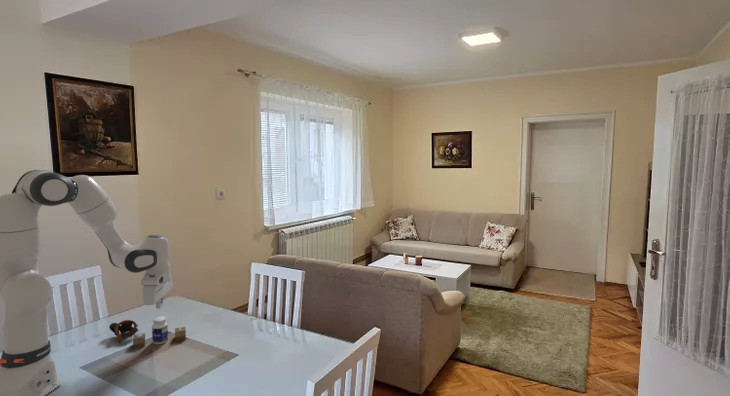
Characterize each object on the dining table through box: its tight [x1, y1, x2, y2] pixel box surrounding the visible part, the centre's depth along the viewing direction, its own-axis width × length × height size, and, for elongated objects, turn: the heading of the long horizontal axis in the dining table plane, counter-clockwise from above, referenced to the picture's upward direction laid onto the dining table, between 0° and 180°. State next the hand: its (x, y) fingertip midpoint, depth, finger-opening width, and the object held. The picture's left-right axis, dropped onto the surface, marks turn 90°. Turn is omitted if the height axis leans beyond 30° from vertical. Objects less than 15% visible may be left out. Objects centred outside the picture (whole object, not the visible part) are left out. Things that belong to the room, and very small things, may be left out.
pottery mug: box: [108, 319, 139, 343], centre depth 167 cm, size 12×10×8 cm
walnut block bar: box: [174, 326, 187, 342], centre depth 168 cm, size 4×4×4 cm
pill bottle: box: [151, 315, 169, 345], centre depth 164 cm, size 6×6×10 cm
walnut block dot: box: [132, 332, 146, 349], centre depth 161 cm, size 4×4×4 cm
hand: (159, 307), depth 163 cm, fingers closed
